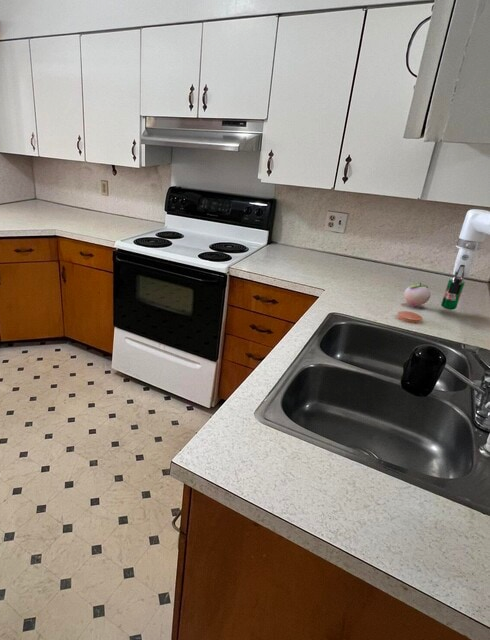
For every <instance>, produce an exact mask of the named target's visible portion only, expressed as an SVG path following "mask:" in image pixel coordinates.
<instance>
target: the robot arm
mask: <svg viewBox="0 0 490 640" xmlns="http://www.w3.org/2000/svg"><path fill="white" fill-rule="evenodd" d="M487 235H488V236H490V210H487V209H486V210H485V209H477V208H473V209H469V210H468V211H467V212H466V214H465V217H464V221H463V224H462V227H461V229H460V233H459V236H458V239H457V242H456V245H455V247H456V248H457V249H458V250H457V255H456V258H455V261H454V265H453V271H452V274H453V276H454V279H453V282H452V283H451V286H450V289H449V293H452V294H457V295H458V294H459V291H460V288H461V285H462V284H461V283H462V280H463V278H466V279H467V278H469V276H470V273H471V270H472V267H473V264H474V261H475V259H476V255H477V252H481V250H482V247H483V244H484V241H485V239H486V236H487Z"/></svg>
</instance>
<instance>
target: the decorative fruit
mask: <svg viewBox="0 0 490 640" xmlns="http://www.w3.org/2000/svg"><path fill="white" fill-rule="evenodd" d="M431 293H432V292H431V290H430V289H429V286H428V285H427V284H426V285H425V284H422V282H419V284H412V285H410V286H407V288H406V289H405V290H404V293H403V295H404V298H405V300H406V302H407V303H408V304H409V305H411V306H412V307H416V306H421V305H424V304H426V303H428V302H429V300H430V298H431Z"/></svg>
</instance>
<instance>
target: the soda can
mask: <svg viewBox="0 0 490 640" xmlns="http://www.w3.org/2000/svg"><path fill="white" fill-rule="evenodd" d="M453 279H454V275H452V276H451V277H450V278H449V279H448V282H447V285H446V288H445V291H444V294H443V297H442V299H441V300H442V301H441V304H440V305H441V308H443V309H446V310H451V311H452V310H456V309H457V307H458V304H459V301H460V299H461V295H462V293H463V290H464V287H465V284H466V281H465V280H466V279H465V277H463V280H462V283H461V284H462V285H461V288H460V291H459V294H458V295H457V294H452V293H449V289H450V286H451V283H452V282H453Z"/></svg>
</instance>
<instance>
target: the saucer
mask: <svg viewBox="0 0 490 640" xmlns="http://www.w3.org/2000/svg"><path fill="white" fill-rule="evenodd" d="M396 317H397V319H398V320H400V321H402V322H406V323H409V324H420V323H422V320H423V317H422V316H421V315H420V314H418V313H415V312H412V311H406V310H401V311H398V312H397V315H396Z"/></svg>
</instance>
